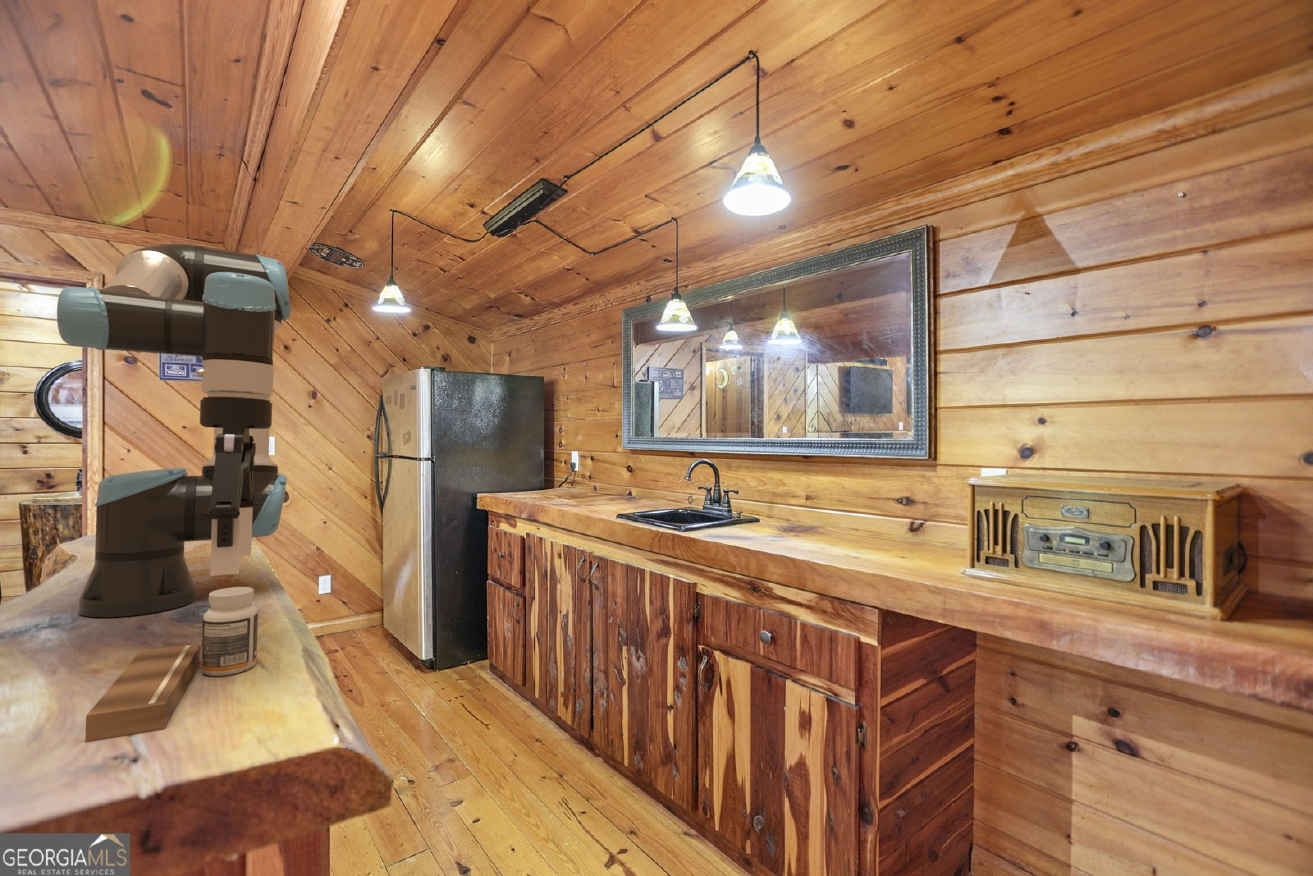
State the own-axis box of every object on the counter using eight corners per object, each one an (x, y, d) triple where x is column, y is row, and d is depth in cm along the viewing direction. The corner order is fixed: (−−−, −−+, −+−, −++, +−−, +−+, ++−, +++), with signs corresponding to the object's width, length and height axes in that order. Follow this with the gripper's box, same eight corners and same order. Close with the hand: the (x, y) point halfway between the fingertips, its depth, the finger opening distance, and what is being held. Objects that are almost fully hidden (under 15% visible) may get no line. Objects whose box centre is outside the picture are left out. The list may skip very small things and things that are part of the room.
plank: (140, 670, 75) (141, 649, 75) (199, 662, 78) (200, 642, 78) (85, 741, 58) (86, 714, 58) (164, 728, 61) (165, 702, 61)
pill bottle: (220, 661, 79) (222, 585, 79) (265, 660, 79) (267, 585, 80) (190, 678, 73) (192, 596, 73) (239, 677, 74) (241, 596, 74)
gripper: (216, 401, 86) (211, 550, 85) (180, 387, 64) (173, 587, 64) (278, 404, 89) (274, 547, 89) (264, 391, 68) (258, 581, 67)
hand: (232, 564), depth 76 cm, fingers open, 13 cm apart
